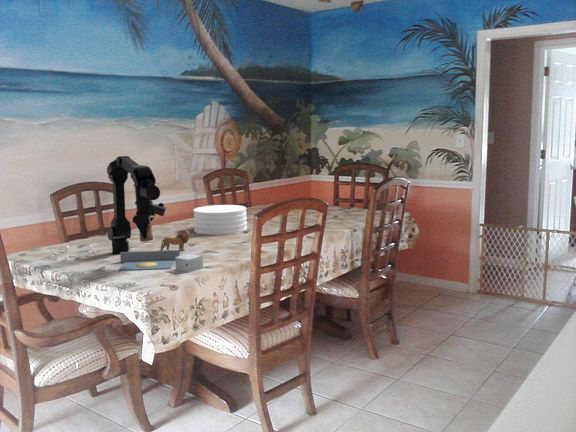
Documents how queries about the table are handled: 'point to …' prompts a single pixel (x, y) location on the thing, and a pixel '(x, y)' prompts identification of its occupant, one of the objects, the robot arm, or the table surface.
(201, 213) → the plate stack
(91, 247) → the game piece set
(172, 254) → the low wall
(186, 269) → the small box
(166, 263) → the mat
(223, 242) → the table surface
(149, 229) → the brown rounded cylinder
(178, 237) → the lion figurine
